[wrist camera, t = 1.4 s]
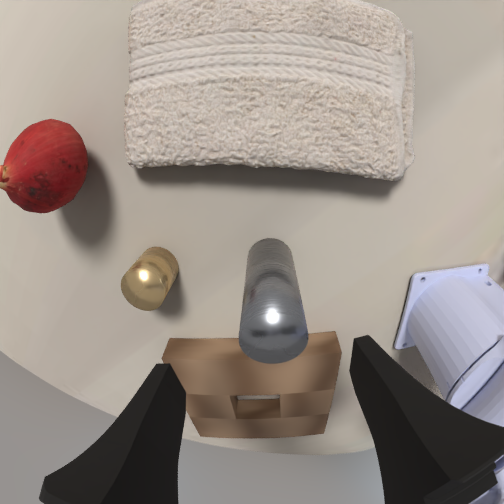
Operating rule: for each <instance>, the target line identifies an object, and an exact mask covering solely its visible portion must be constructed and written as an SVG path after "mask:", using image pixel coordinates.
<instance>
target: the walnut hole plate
mask: <svg viewBox="0 0 504 504" xmlns="http://www.w3.org/2000/svg"><path fill="white" fill-rule="evenodd" d="M308 338H309V339H308V343H307V346H306V348H305V349H304V351H303V352H302V353H301V354H300V355H298V356H297V357H296V358H294V359H292V360H290V361H287V362H283V363H278V364H267V363H261V362H258V361H255V360H253V359H251V358H250V357H248V356H247V355H246V354H245V353H244V352H243V351H242V349H241V348H240V345H239V338H223V339H183V338H170V339H169V341H168V344H167V346H166V349H165V351H164V354H163V357H162V360H163V362H164V364H165V363H170V364H171V366H172V368H173V370H174V371H175V373H176V375H177V377H178V379H179V381H180V382H181V384H182V386H183V388H184V389H185V391H186V411H187V413H188V414H189V416H190V418H191V420H192V422H193V424H194V426H195V427H196V429H197V431H198V433H199V435H200V436H202V437H217V438H280V437H295V436H306V435H315V434H323V433H324V431H325V427H326V424H327V420H328V416H329V412H330V407H331V403H332V399H333V394H334V390H335V385H336V380H337V375H338V370H339V365H340V359H341V353H342V352H341V348H340V345H339V342H338V338H337V335H336V332H335V331H333V332H323V333H313V334H308ZM275 394H280V399H264V400H238V399H237V395H275Z"/></svg>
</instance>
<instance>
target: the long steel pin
mask: <svg viewBox="0 0 504 504" xmlns="http://www.w3.org/2000/svg"><path fill="white" fill-rule="evenodd" d="M308 339H309V338H308V330H307V325H306V320H305V315H304V310H303V305H302V300H301V295H300V290H299V286H298V281H297V276H296V271H295V267H294V262H293V258H292V253H291V251H290V249H289V247H288V246H287V245H286V244H285V243H284V242H282V241H280V240H278V239H273V238H268V239H263V240H260V241H258V242H257V243H255V244H254V245H253V246H252V247H251V249H250V251H249V254H248V261H247V269H246V278H245V287H244V295H243V304H242V313H241V322H240V331H239V345H240V348H241V349H242V351H243V352H244V353H245V354H246V355H247V356H248V357H250V358H251V359H253V360H255V361H258V362H261V363H267V364H278V363H283V362H287V361H290V360H292V359H294V358H296V357H297V356H298V355H300V354H301V353H302V352H303V351H304V349H305V348H306V346H307V343H308Z"/></svg>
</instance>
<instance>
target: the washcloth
mask: <svg viewBox="0 0 504 504" xmlns="http://www.w3.org/2000/svg"><path fill="white" fill-rule="evenodd" d="M128 28H129V33H128V37H129V40H128V42H129V43H128V46H129V49H128V50H129V54H130V67H129V72H130V76H129V81H130V86H129V90H128V91H127V92H126V94H125V113H124V115H125V116H124V120H125V129H124V133H125V142H126V143H125V152H126V159H127V161H128V164H129V165H130V166H131V167H136V168H143V167H144V166H145V167H146V166H147V167H150V168H151V167H155V166H167V165H168V166H170V165H171V166H172V165H179V166H188V165H195V166H205V165H210V164H224V165H235V164H240V165H241V164H243V165H247V166H251V167H255V168H258V167H261V166H262V167H267V166H269V167H272V168H273V167H274V166H275V167H281V168H286V167H291V168H293V169H299V170H301V169H304V170H307V169H316V170H322V171H326V172H333V173H335V172H336V173H337V172H340V173H341V174H350V175H353V174H354V175H359V176H363V177H365V178H368V177H369V178H372V179H375V178H379V179H383V180H386V181H387V180H390V181H397V180H401V179H402V177H403V175H404V171H405V170H406V169H407V168H408V167H409V166H410V165H411V164H412V163H413V161H414V159H415V155H414V151H413V146H412V137H413V130H412V125H413V114H414V87H415V85H414V80H415V78H414V76H415V63H414V51H413V33H412V32H411V31H410V30H408V29H406V28H403V24H402V22H401V20H400V19H399V18H398V17H397V15H395V14H394V13H392V12H391V11H389V10H387V9H384V8H381V7H378V6H375V5H374V4H370V3H366V2H363V1H360V0H142V1H140V2H139V3H137V4H135V5H133V6H132V9H131V14H130V17H129V25H128Z"/></svg>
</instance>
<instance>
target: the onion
mask: <svg viewBox="0 0 504 504" xmlns="http://www.w3.org/2000/svg"><path fill="white" fill-rule="evenodd" d="M87 168H88V160H87V150H86V148H85V145H84V142H83V140H82V137H81V136H80V135H79V134H78V132H77V131H76V130H75V129H74V128H73V127H72V126H71V125H70V124H68V123H65V122H62V121H59V120H54V119H48V120H44V121H40V122H38V123H35V124H32V125H30V126H29V127H27V128H26V129H25V130H24V131H23V132H22V133H21V134H20V135H19V136H18V137H17V138H16V139H15V141H14V142H13V143H12V145H11V146H10V148H9V150H8V153H7V155H6V158H5V160H4V165H0V188H1V189H3V190H5V191H6V193H7V194H8V196H9V198H10V200H11V201H13V202H14V203H15V204H17V205H18V206H20V207H21V208H22V209H24V210H26V211H29V212H36V213H48V212H51V211H54V210H56V209H58V208H60V207H62V206H64V205H66V204H67V203H69V202H70V201H71V200H73V199H74V197H75V196H76V194H77V193H78V191H79V190H80V188H81V187H82V185H83V183H84V181H85V177H86V172H87Z"/></svg>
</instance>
